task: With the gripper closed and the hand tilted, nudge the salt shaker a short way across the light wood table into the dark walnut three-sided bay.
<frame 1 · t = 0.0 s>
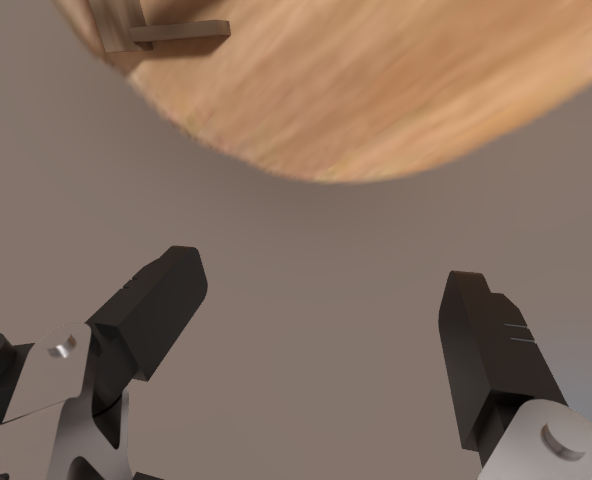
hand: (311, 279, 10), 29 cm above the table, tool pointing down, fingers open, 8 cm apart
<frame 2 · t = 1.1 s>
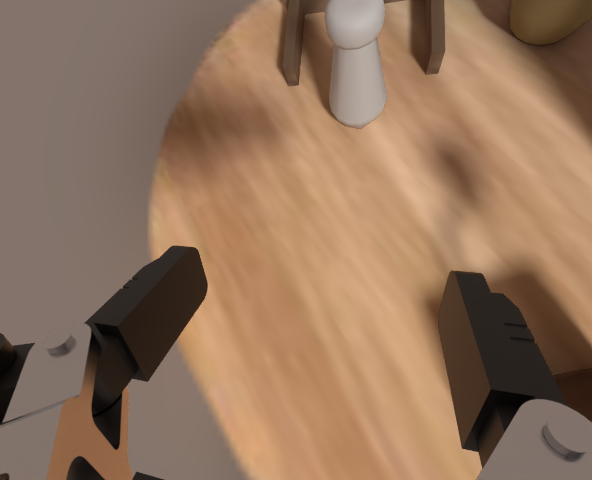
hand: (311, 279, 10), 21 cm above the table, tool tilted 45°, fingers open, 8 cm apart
walnut bay: (360, 49, 35), on the table
manual coffee grinder: (559, 413, 25), on the table
squeeze bottle: (539, 23, 31), on the table
salt shaker: (358, 113, 34), on the table
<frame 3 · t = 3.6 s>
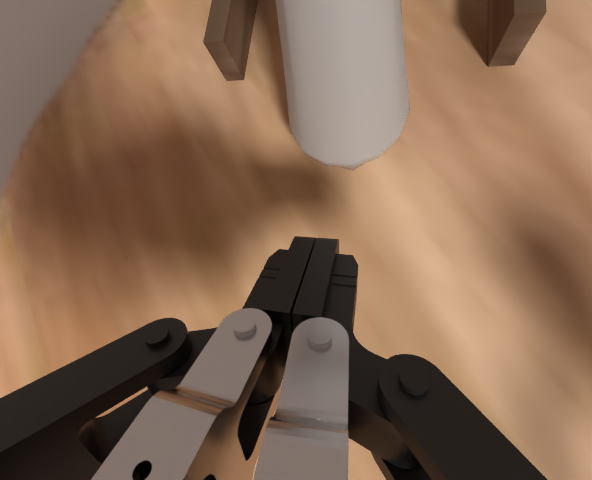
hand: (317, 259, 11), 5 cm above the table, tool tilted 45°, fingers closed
walnut bay: (360, 16, 19), on the table
salt shaker: (349, 137, 17), on the table
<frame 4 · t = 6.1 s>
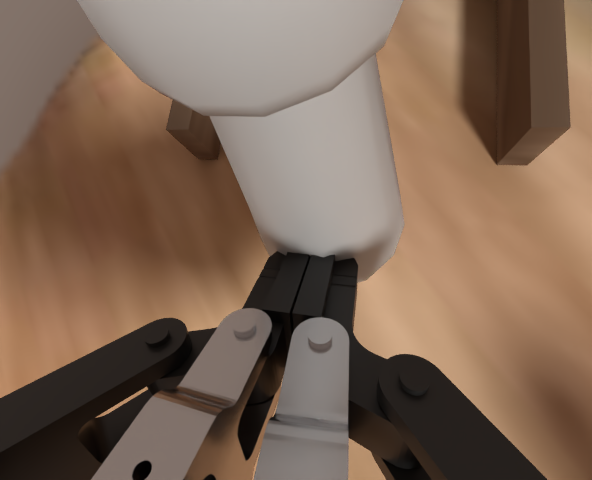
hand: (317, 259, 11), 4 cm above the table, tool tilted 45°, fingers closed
walnut bay: (349, 92, 16), on the table
salt shaker: (334, 238, 15), on the table, touching gripper
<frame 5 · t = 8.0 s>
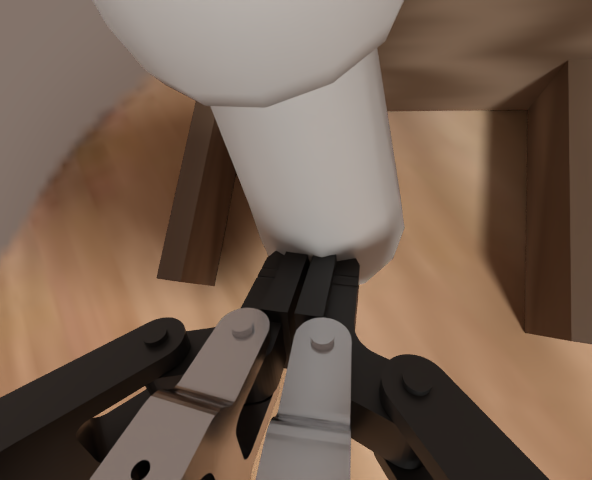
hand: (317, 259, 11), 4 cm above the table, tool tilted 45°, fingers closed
walnut bay: (359, 222, 15), on the table
salt shaker: (334, 241, 15), on the table, touching gripper
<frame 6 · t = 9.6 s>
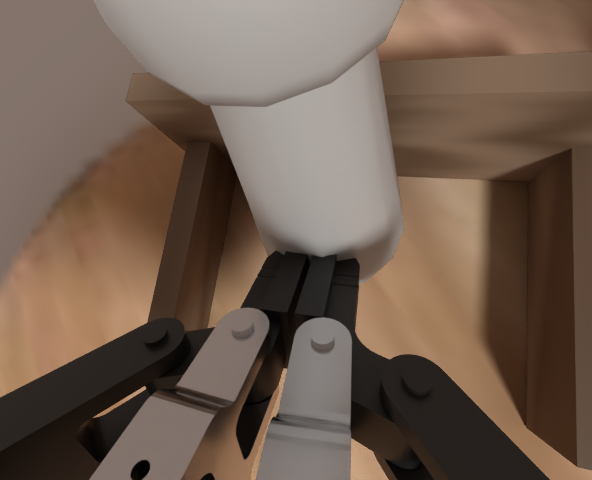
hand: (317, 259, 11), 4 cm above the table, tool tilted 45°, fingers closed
walnut bay: (352, 296, 14), on the table
salt shaker: (334, 241, 15), on the table, touching gripper
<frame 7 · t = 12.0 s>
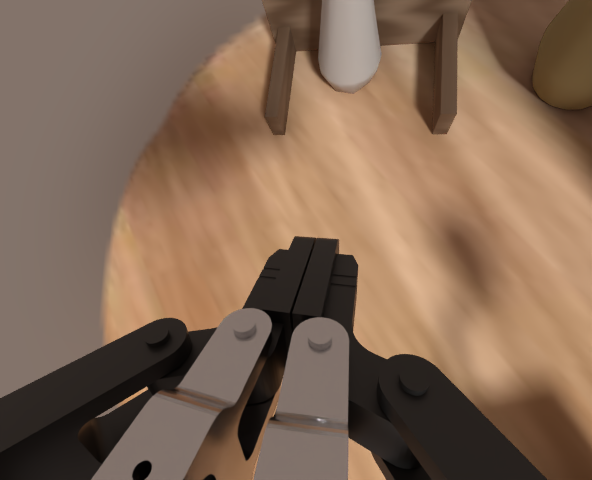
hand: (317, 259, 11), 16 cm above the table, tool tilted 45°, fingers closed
walnut bay: (357, 98, 30), on the table
squeeze bottle: (567, 83, 27), on the table
salt shaker: (349, 77, 31), on the table
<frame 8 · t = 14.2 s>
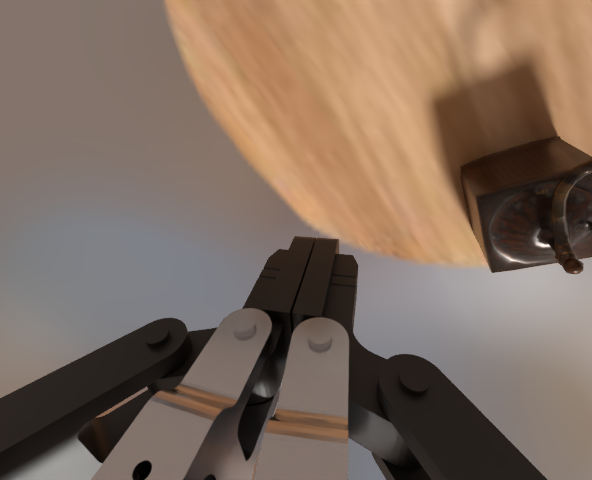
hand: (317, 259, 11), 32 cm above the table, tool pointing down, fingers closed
manual coffee grinder: (510, 169, 37), on the table
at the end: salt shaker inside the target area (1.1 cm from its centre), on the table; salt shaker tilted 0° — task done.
